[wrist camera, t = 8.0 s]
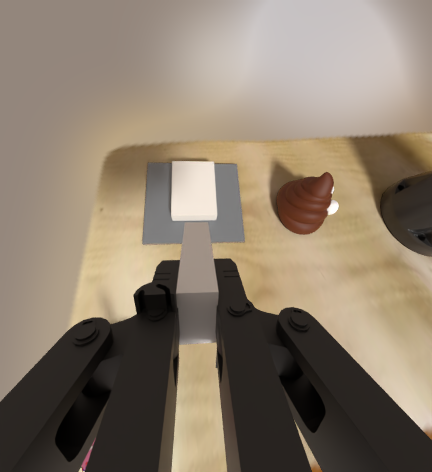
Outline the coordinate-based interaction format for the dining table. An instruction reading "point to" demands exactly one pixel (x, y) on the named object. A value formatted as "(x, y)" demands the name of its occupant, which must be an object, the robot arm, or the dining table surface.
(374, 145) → the dining table surface
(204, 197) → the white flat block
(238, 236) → the slate board
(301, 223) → the poop emoji
